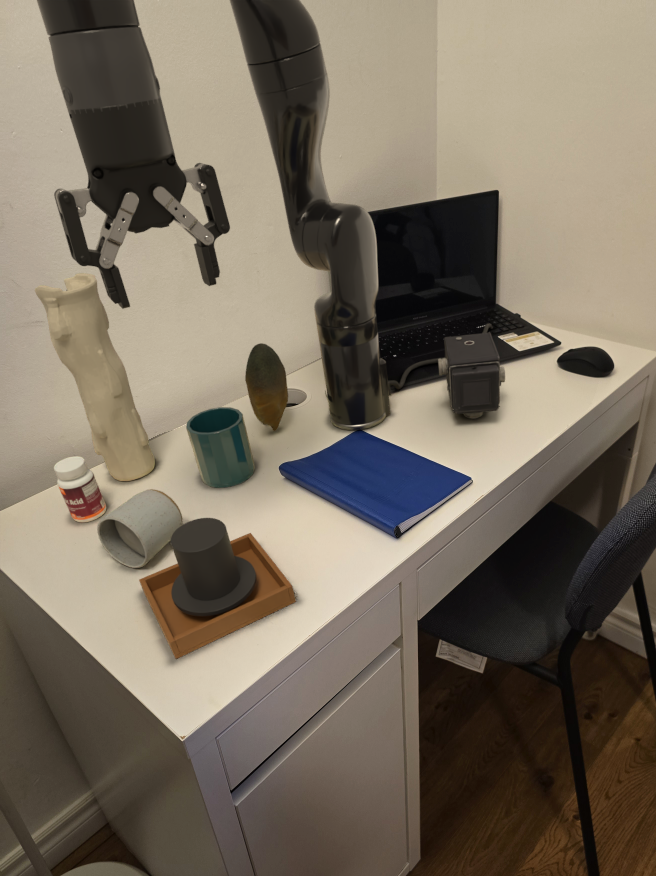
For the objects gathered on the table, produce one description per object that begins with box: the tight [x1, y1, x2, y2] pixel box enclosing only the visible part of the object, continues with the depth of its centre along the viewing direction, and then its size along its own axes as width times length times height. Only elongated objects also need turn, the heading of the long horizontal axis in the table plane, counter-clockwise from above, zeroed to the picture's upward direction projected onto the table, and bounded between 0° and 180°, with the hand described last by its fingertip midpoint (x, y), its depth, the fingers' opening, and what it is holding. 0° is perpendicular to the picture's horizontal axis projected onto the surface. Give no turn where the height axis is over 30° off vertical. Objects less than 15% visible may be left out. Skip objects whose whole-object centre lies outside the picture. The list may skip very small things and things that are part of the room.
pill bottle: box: [53, 455, 107, 523], centre depth 91 cm, size 5×5×8 cm
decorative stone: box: [244, 343, 289, 432], centre depth 104 cm, size 10×6×15 cm, turn 166°
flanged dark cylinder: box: [170, 517, 257, 616], centre depth 73 cm, size 10×10×9 cm
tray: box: [138, 532, 297, 660], centre depth 76 cm, size 14×12×2 cm
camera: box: [437, 331, 506, 419], centre depth 105 cm, size 11×11×15 cm
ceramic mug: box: [96, 488, 184, 569], centre depth 84 cm, size 11×8×8 cm
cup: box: [185, 406, 256, 489], centre depth 96 cm, size 8×8×9 cm
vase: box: [34, 272, 156, 482], centre depth 94 cm, size 9×8×30 cm
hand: (168, 294), depth 63 cm, fingers open, 8 cm apart
